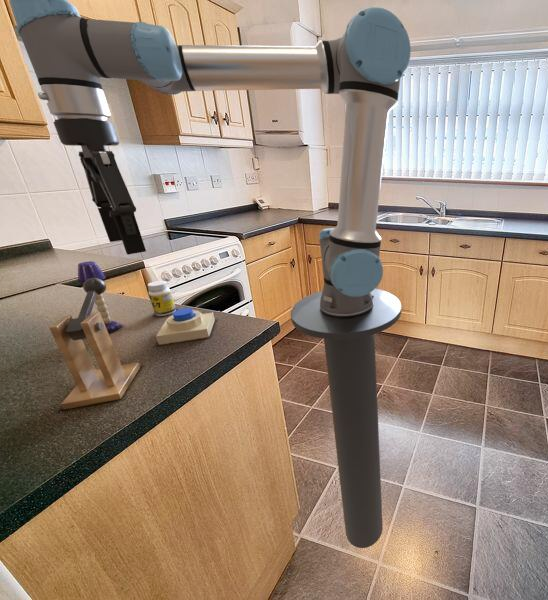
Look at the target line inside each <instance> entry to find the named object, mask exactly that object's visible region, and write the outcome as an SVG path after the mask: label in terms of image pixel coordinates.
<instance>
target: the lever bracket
mask: <svg viewBox="0 0 548 600" xmlns="http://www.w3.org/2000/svg"><path fill="white" fill-rule="evenodd" d="M70 319H73V317H72V315H71V314H70V315H63V316H62V317H60V319H58V320H57V321H55V322H54V323H53V324H51V326H49V327H48V329H49V330H50V331H49V332H50V333H51V334H52V337H53V339H54V341H55V343H56V345H57V347H58V350H59V352H60V354H61V355H62V357H63V360H64V362H65V363H66V365H67V368H68V369H69V372H70V373H71V376H72V378H73V380H74V382H75V385H76V386H74V387H73V389H72V390H71V392H70V393H69V394H68V395H67V396H66V397H65V399H64V400H63V401H62V402H61V404H60V405H61V408H62V410H69V409H70V410H71V409H74V408H81V407H84V406H85V407H86V406H91V405H97V404H101V403H106V402H107V403H108V402H112V401H117V400H121V399H122V398H123V396H124V395H125V393H126V391H127V390H128V388H129V387H130V385H131V383H132V382H133V380H134V379H135V377H136V375H137V373H138V371H139V370H140V368H141V365H140V363H139V362H131V363H125V364H122V363H121V360H120V358H119V357H118V353H117V351H116V348H115V346H114V343H113V342H112V338H111V337H110V333H108V331H107V329H106V326H105V324H104V322H103V319H102V317H101V314H100V312H99V311H93V312H91V314H90V315H89V316H88V317H87V318H86V319H85V320H84V321H83V322H82V323H80V324H81V327H82V329H83V331H84V333H85V336H86V338H87V339H86V340H87V342H88V344H89V348H90V349H91V352H92V354H93V356H94V358H95V360H96V362H97V363H96V364H97V366H98V367H99V368H97V369H96V368H95V365H94V363H93V361H92V358H91V357H90V354H89V352H88V349H87V347H86V345H85V343H84V340H83V339H81V340H72V339H71V338H70V337H69V336H68V335H67V334H66V333H65V331H66V328H67V326H68V323H69V321H70Z"/></svg>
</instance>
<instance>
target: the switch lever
mask: <svg viewBox="0 0 548 600" xmlns="http://www.w3.org/2000/svg"><path fill="white" fill-rule="evenodd" d="M82 288H83V291H84V292H85V293H86V295H85V298H84V300H83V303H82V305H81V308H80V311H79V313H78V316H77V317H76V318H75V317H74V318H72V319H70V321H69V323H68V326H67V328H66V331H65V333H66V334H67V335H68V336H69V337H70V338H71V339H72V340H81V339H82V340H87V338H86V336H85V333H84V331H83V329H82V327H81V324H80V323H82V322H83V321H84V320H85V319H86V318H87V317H88V316H89V315H90V314H92V311H93V309H94V306H95V300H96V297H97V295H100V294H104V293H105V292H106V290H107V283H106V282H105V281H104V279H103V280H101V279H98V278H91V279H88V280H86V281H85V282H84V283H82Z"/></svg>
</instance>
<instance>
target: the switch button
mask: <svg viewBox="0 0 548 600" xmlns="http://www.w3.org/2000/svg"><path fill="white" fill-rule="evenodd" d="M193 310H194V309H193V308H190V307H184V308H179V309H176V311H175V312H173V313H172V315H173V317H174V320H175V321H178V322H179V321H186V320H189V319H192V318H193V317H194V313H193Z"/></svg>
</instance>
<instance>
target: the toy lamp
mask: <svg viewBox="0 0 548 600" xmlns="http://www.w3.org/2000/svg"><path fill="white" fill-rule="evenodd" d="M91 278H98V279H101V280H103V281H104V280H105V279H106V275H105V274H104V272H103V270H102V268H100V266H99V265H98V264H97V262H96V261H92V260H91V261H83V262H80V263H78V264H77V281H78V282H79V283H80V284H84V282H85V281H86V280H88V279H91ZM103 294H104V293H102V294H100V295H97V297H96V300H95V303H94V305H96V309H97V312H100V314H101V317H102V319H103V322H104V324H105V326H106V329H107V331H108V334H110V333H113V332H115V331H118V330H119V329H121V324H120V323H119V322H118V321H116V320H112V317H110V312H109V310H108V306H107V304H106V300H105V299H104V295H103Z"/></svg>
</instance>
